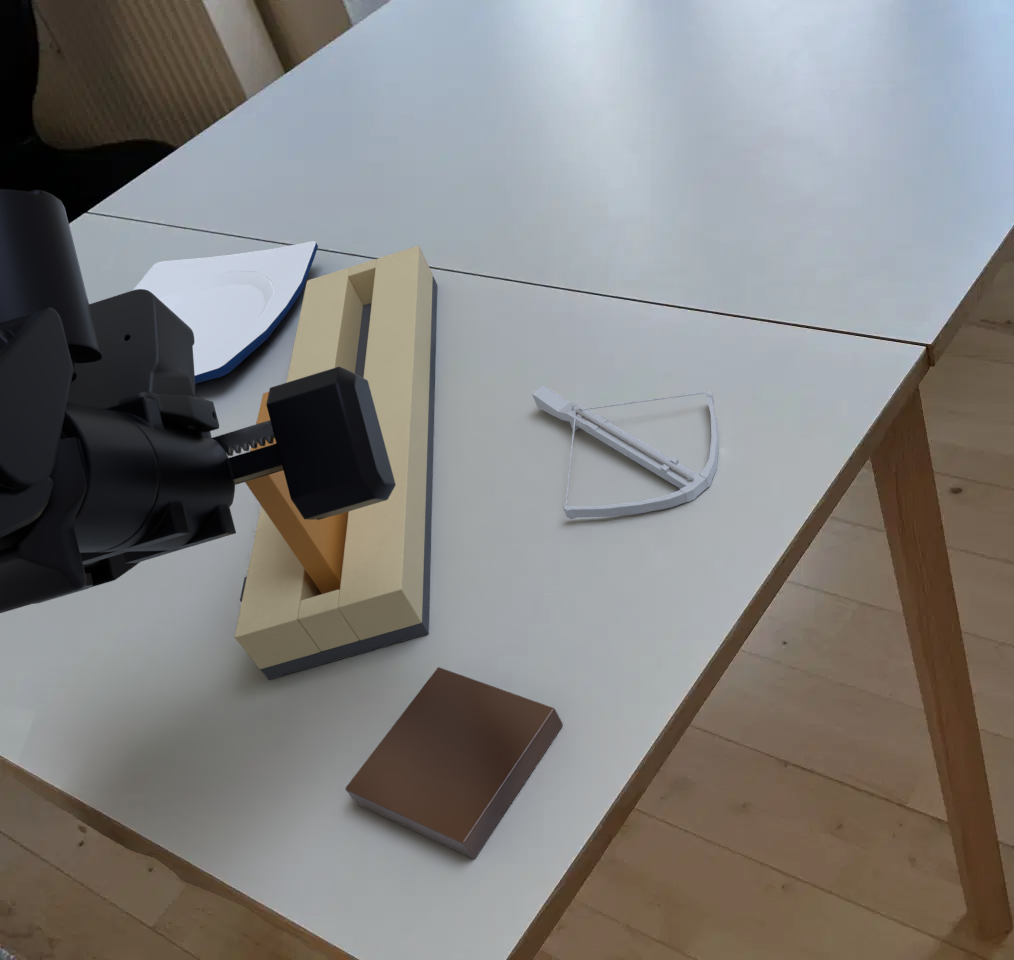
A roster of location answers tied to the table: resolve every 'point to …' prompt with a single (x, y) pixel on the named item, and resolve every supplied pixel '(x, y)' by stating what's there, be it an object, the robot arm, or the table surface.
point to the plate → (231, 300)
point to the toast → (302, 525)
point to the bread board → (455, 760)
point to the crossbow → (632, 456)
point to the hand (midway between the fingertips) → (262, 494)
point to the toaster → (371, 529)
